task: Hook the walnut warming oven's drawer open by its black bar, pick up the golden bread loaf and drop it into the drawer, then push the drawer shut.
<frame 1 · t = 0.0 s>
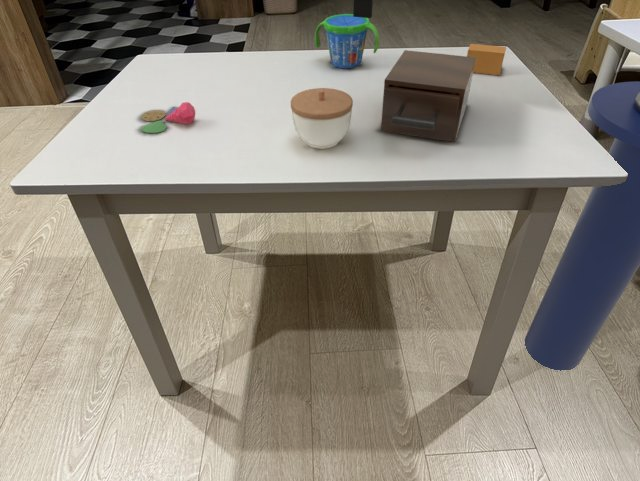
hand: (374, 5, 73), 21 cm above the table, tool pointing down, fingers open, 13 cm apart
drawer: (423, 105, 82), point 5 cm above the table, slide at 0.5 cm
bread: (482, 70, 107), on the table
toy pieces: (169, 121, 91), on the table
snack cup: (345, 64, 112), on the table
cabinet: (425, 117, 89), on the table
trinket box: (322, 141, 83), on the table
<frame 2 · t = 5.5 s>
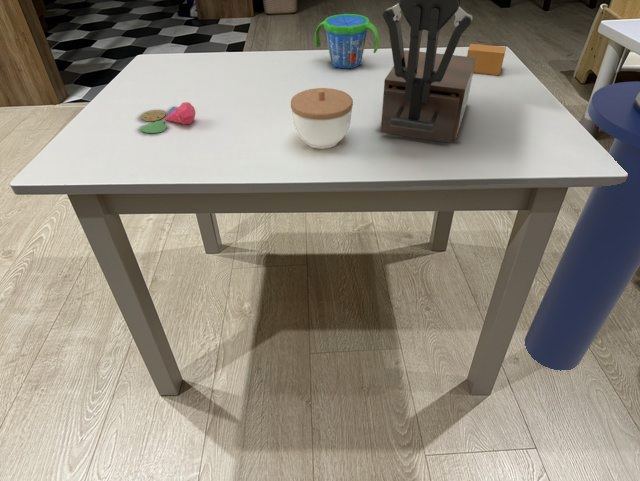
hand: (413, 119, 76), 6 cm above the table, tool pointing down, fingers closed
drawer: (422, 106, 82), point 5 cm above the table, slide at 1.1 cm, touching gripper
everything else where it was.
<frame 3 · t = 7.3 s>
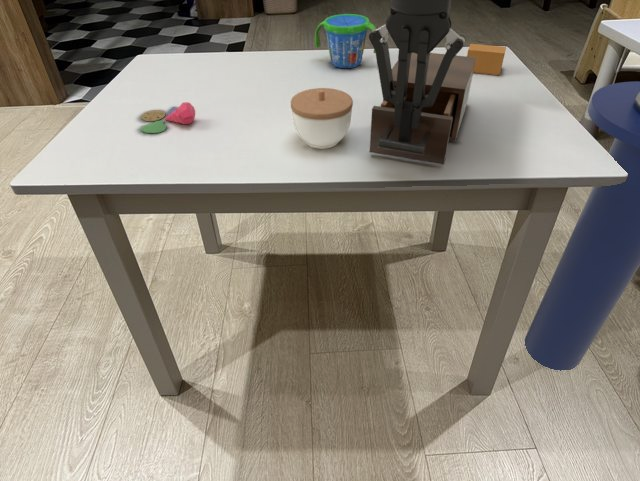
hand: (404, 144, 71), 5 cm above the table, tool pointing down, fingers closed
drawer: (413, 125, 77), point 5 cm above the table, slide at 8.7 cm, touching gripper
everything else where it was.
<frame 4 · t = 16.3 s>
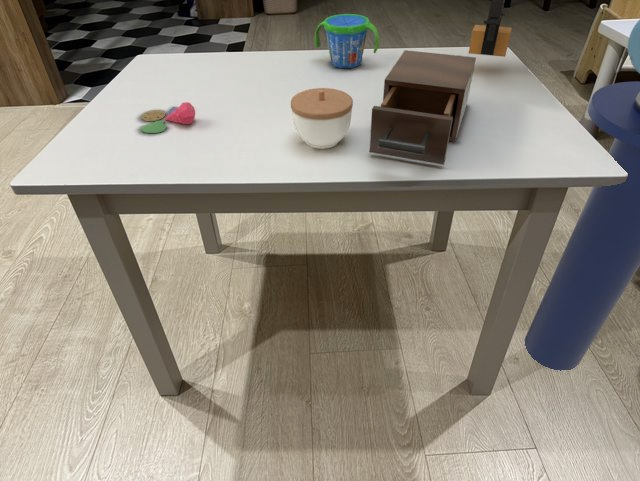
hand: (488, 50, 104), 5 cm above the table, tool pointing down, fingers closed on bread, 4 cm apart
drawer: (413, 125, 77), point 5 cm above the table, slide at 8.7 cm
bread: (487, 52, 104), point 4 cm above the table, touching gripper
everything else where it was.
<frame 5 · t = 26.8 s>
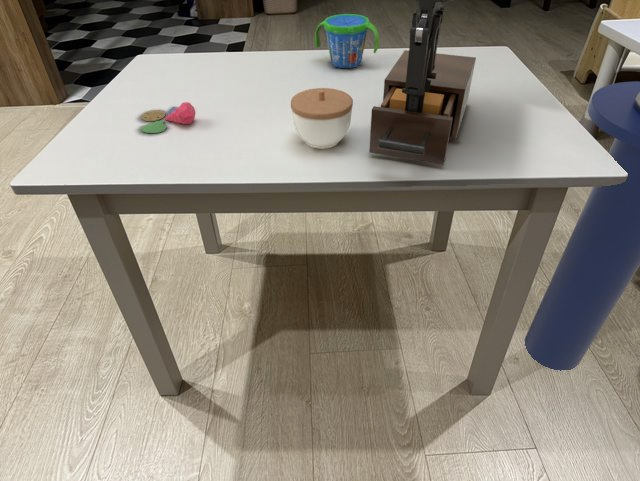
hand: (414, 123, 77), 5 cm above the table, tool pointing down, fingers closed on bread, 4 cm apart
drawer: (413, 125, 76), point 5 cm above the table, slide at 8.9 cm, touching gripper
bread: (413, 124, 77), point 5 cm above the table, touching gripper
everything else where it was.
when the fingers open (5 cm above the table, at t = 26.8 s): bread drops 2 cm, resting on drawer.
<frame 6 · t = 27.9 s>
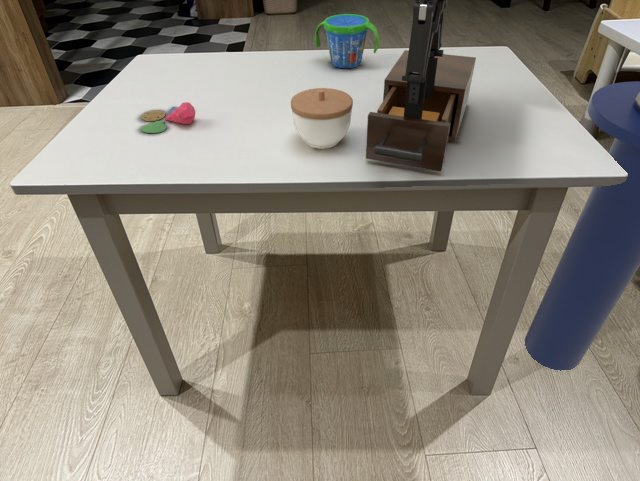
hand: (418, 108, 74), 8 cm above the table, tool pointing down, fingers open, 9 cm apart
drawer: (411, 131, 75), point 5 cm above the table, slide at 11.0 cm, touching bread
bread: (409, 142, 78), point 2 cm above the table, touching drawer
everything else where it was.
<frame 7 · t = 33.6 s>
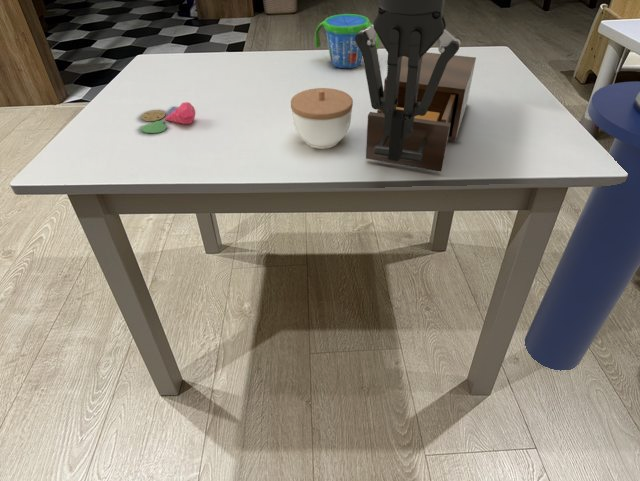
hand: (395, 155, 66), 7 cm above the table, tool pointing down, fingers closed
drawer: (411, 131, 75), point 5 cm above the table, slide at 11.0 cm, touching bread, gripper
everything else where it was.
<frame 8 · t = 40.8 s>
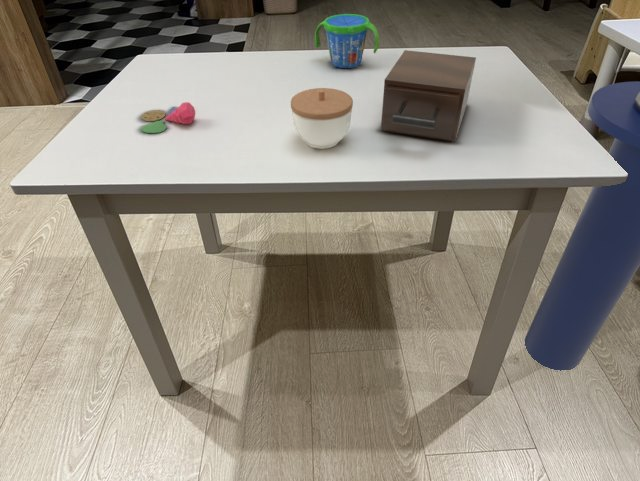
drawer: (423, 103, 83), point 5 cm above the table, slide at 0.0 cm, touching bread, cabinet
bread: (422, 115, 85), point 2 cm above the table, touching drawer
everything else where it was.
at the end: drawer pulled out 11.0 cm at the most during the clip, back to where it started at the end; bread inside the target area in the cabinet (3.3 cm from its centre), point 2.1 cm above the cabinet's base; drawer slide at 0.0 cm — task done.
